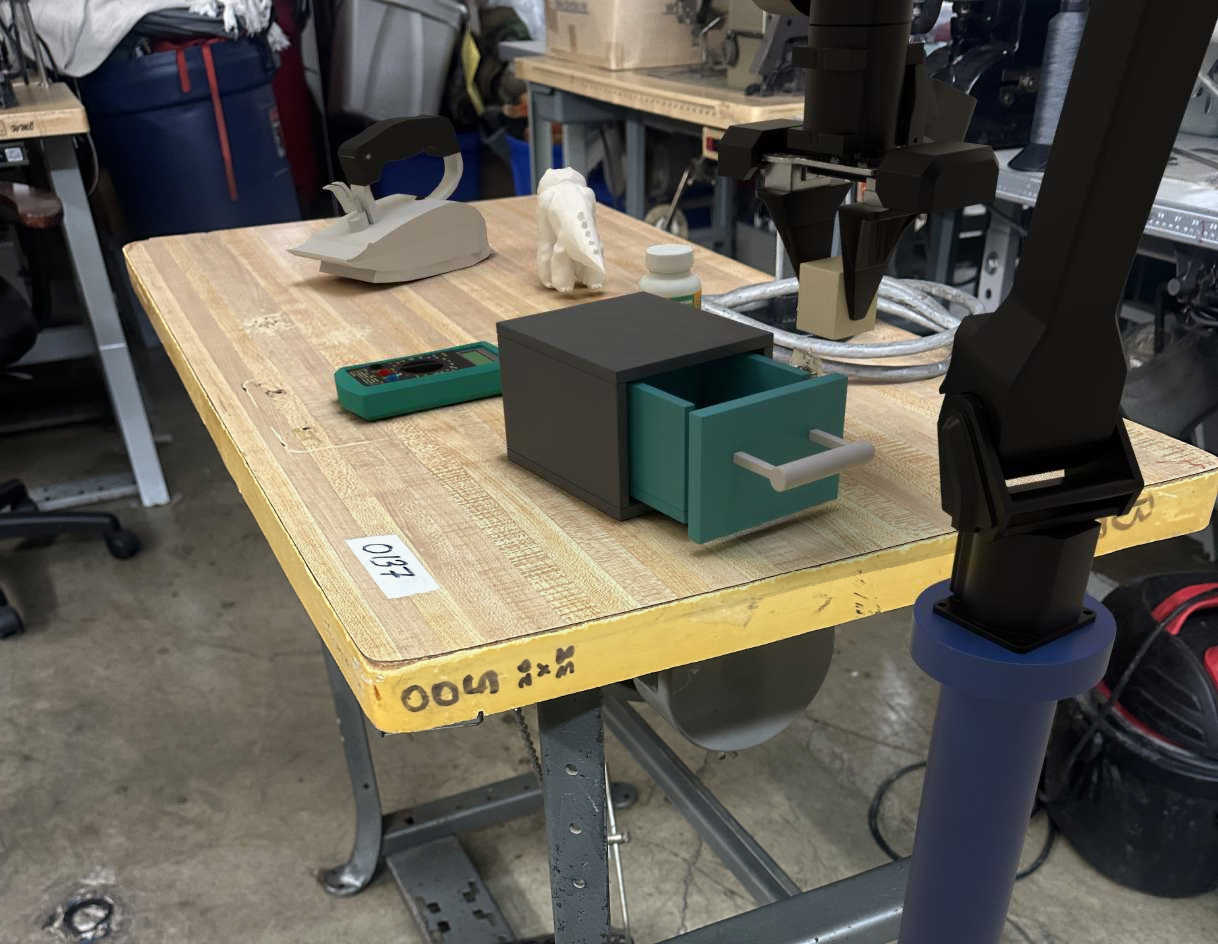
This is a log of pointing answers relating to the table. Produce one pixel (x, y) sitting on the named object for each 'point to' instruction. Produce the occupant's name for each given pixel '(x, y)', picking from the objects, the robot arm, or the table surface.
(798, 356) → the small metal piece
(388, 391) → the digital multimeter
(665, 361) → the drawer cabinet
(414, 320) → the table surface
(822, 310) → the block
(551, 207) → the toy dinosaur
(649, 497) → the teal drawer
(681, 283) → the supplement bottle
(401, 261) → the iron
